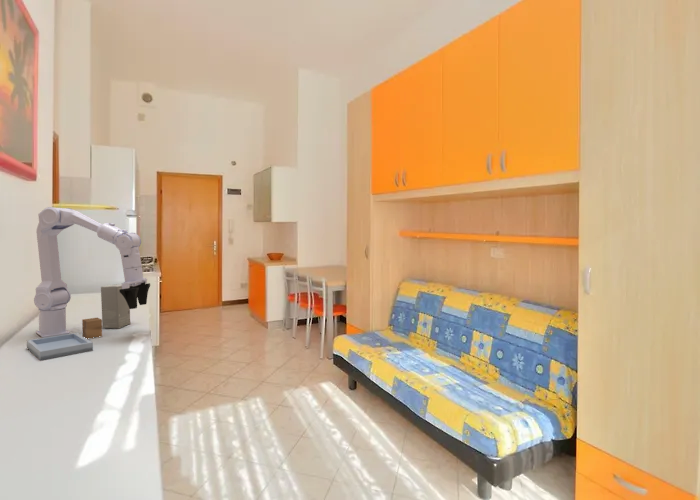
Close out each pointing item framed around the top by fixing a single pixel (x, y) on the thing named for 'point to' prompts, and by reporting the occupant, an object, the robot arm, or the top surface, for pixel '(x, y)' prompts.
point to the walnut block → (92, 327)
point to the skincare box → (114, 307)
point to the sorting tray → (59, 346)
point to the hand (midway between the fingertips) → (138, 306)
